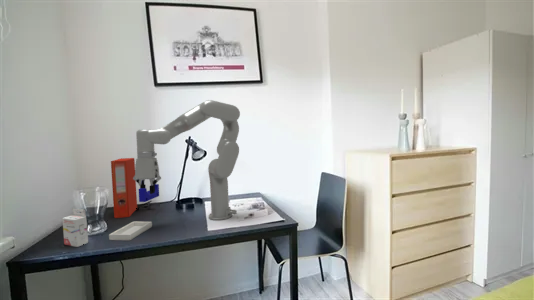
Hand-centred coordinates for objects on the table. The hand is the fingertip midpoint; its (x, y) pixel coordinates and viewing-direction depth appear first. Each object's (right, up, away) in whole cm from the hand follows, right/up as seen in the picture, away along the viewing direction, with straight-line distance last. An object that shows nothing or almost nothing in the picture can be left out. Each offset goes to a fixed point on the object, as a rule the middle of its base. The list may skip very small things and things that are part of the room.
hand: (147, 192), depth 128 cm
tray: (-6, -18, -3) cm, 19 cm away
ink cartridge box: (-24, -20, -14) cm, 34 cm away
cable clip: (0, -3, +1) cm, 3 cm away
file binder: (-26, -17, +30) cm, 43 cm away
